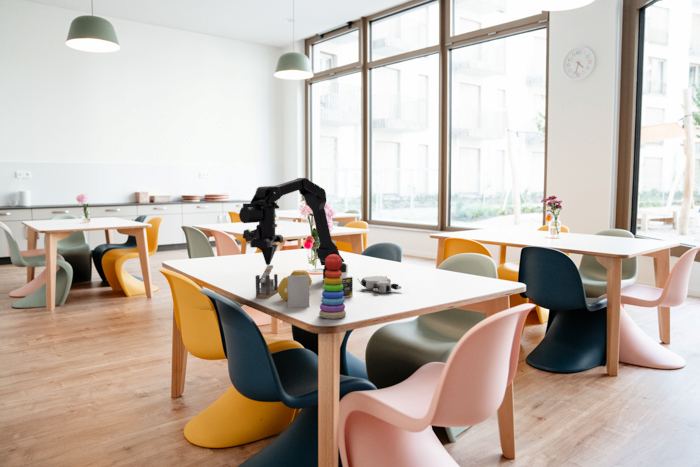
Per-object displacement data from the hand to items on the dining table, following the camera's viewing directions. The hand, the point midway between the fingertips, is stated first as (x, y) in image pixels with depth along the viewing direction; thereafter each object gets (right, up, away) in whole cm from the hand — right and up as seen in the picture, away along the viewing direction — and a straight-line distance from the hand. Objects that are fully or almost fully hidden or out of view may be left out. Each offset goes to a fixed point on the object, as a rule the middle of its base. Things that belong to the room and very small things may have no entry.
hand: (268, 264), depth 186 cm
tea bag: (+13, -13, -18) cm, 25 cm away
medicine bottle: (+26, -11, -2) cm, 28 cm away
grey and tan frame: (0, -11, -1) cm, 11 cm away
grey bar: (0, -4, -1) cm, 4 cm away
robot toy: (+41, -10, +6) cm, 43 cm away
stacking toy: (+24, -14, -32) cm, 43 cm away
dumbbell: (+10, -11, -2) cm, 15 cm away
